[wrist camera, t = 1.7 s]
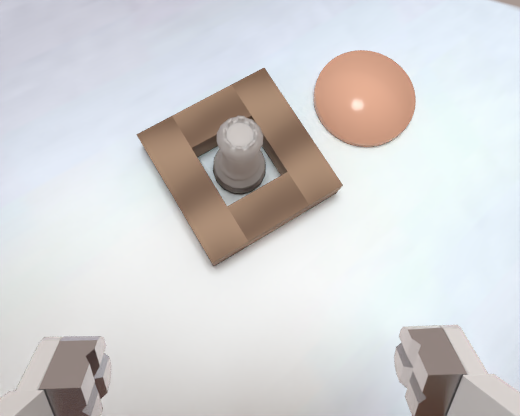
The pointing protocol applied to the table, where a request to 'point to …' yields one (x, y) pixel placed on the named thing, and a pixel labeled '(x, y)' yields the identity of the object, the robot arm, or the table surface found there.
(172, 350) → the table surface
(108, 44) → the table surface
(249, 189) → the rook chess piece
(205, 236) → the socket block
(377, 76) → the coaster
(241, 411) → the table surface
